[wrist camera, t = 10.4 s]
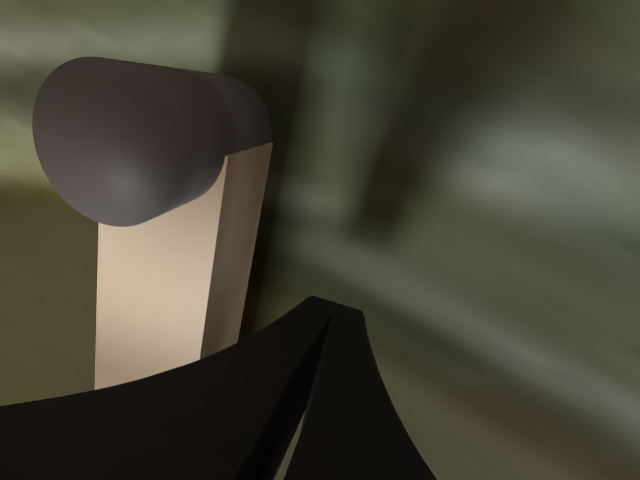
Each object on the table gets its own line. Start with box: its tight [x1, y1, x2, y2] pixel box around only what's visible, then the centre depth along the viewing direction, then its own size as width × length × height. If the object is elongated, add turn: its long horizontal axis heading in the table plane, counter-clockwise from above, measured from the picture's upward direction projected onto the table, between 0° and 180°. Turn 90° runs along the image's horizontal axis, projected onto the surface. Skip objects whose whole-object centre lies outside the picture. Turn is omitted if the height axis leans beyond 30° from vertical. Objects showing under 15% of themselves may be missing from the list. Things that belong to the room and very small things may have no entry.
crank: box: [32, 57, 273, 390], centre depth 11 cm, size 17×4×5 cm, turn 168°
